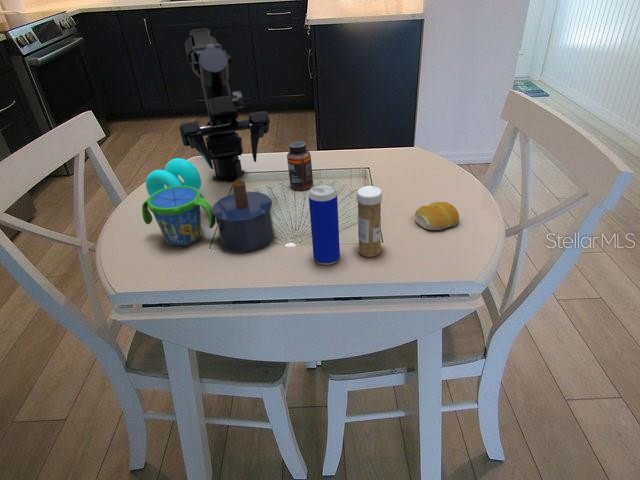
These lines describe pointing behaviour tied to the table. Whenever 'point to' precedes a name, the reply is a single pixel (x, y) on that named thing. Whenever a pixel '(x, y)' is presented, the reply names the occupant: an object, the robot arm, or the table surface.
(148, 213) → the snack cup
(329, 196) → the beverage can
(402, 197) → the table surface
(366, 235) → the spice jar
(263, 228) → the navy blue pot
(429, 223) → the bread roll
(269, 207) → the lid
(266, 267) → the table surface
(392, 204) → the table surface
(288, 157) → the supplement bottle
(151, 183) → the donuts
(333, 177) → the table surface
